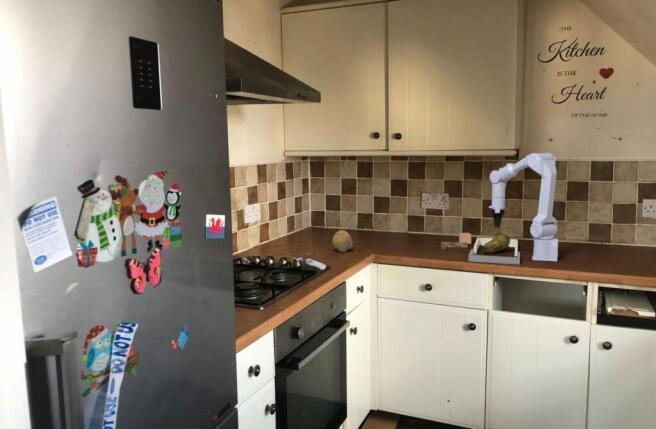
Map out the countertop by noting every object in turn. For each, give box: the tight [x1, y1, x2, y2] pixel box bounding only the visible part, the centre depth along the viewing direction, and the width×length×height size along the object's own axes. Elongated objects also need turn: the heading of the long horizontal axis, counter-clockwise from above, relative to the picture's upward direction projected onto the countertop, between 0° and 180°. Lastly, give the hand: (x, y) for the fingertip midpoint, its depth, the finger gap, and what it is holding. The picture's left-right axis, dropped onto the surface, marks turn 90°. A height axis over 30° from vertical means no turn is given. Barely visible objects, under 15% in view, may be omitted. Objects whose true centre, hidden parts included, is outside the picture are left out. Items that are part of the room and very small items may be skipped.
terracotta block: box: [458, 232, 472, 245], centre depth 266 cm, size 4×4×4 cm
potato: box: [482, 233, 511, 254], centre depth 243 cm, size 8×13×8 cm, turn 94°
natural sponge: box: [331, 229, 354, 253], centre depth 249 cm, size 9×9×10 cm
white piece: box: [473, 237, 519, 257], centre depth 248 cm, size 18×22×4 cm
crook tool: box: [440, 241, 469, 250], centre depth 255 cm, size 12×6×2 cm, turn 82°
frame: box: [468, 248, 521, 265], centre depth 231 cm, size 20×13×2 cm, turn 71°
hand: (497, 226), depth 253 cm, fingers open, 4 cm apart
